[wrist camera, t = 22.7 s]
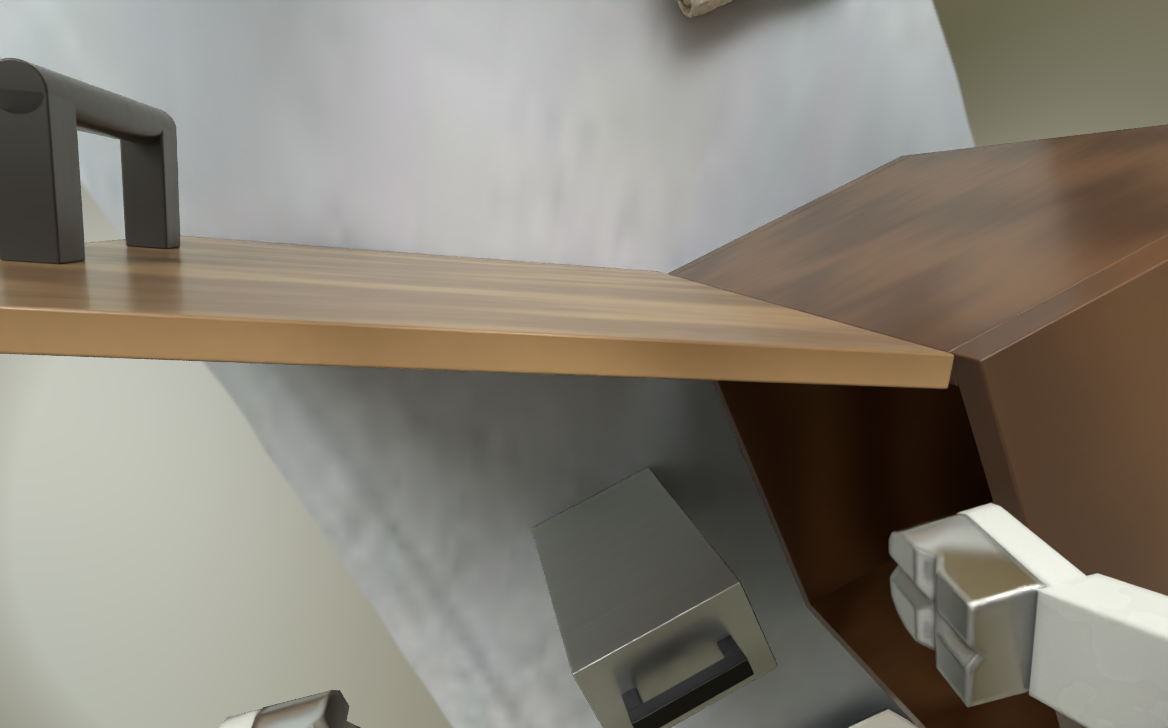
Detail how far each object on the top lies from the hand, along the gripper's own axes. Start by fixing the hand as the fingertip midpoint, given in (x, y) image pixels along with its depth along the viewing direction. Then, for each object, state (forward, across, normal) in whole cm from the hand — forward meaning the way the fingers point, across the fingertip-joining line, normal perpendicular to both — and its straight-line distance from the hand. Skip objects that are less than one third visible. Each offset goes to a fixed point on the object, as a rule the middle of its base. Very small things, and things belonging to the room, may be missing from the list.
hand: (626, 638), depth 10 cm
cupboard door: (+34, +5, -1) cm, 34 cm away
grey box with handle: (+30, -1, +22) cm, 38 cm away
